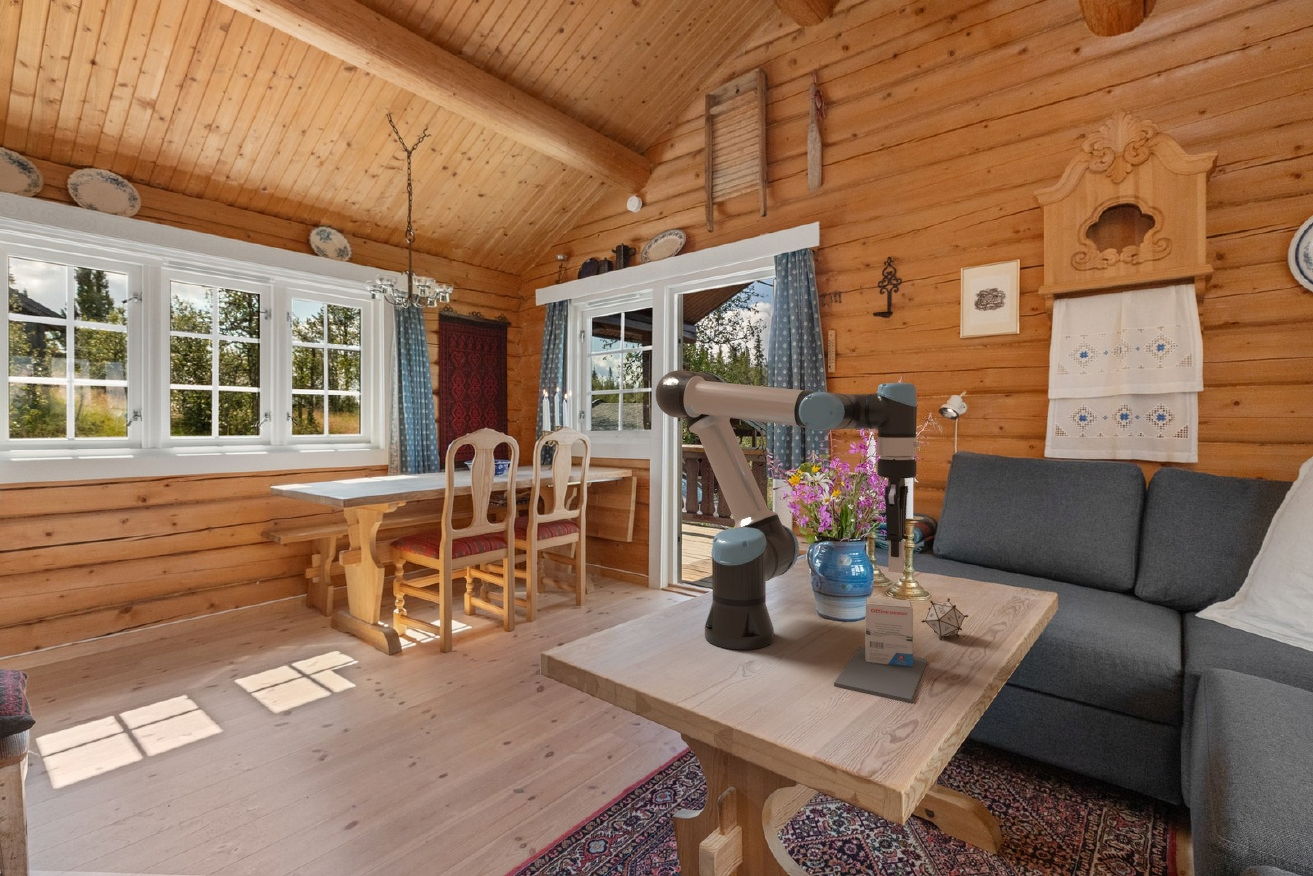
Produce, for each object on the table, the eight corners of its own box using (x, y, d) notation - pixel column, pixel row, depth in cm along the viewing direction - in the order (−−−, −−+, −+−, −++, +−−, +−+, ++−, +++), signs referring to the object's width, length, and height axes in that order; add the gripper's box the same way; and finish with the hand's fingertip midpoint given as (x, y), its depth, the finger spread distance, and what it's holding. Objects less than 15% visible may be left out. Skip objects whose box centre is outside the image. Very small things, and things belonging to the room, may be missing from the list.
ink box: (911, 658, 121) (911, 599, 120) (913, 668, 116) (913, 607, 115) (865, 653, 123) (865, 596, 123) (865, 663, 119) (865, 603, 118)
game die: (953, 656, 133) (976, 628, 127) (915, 639, 134) (936, 612, 128) (952, 624, 140) (974, 597, 134) (915, 609, 141) (935, 582, 135)
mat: (834, 686, 110) (834, 682, 110) (859, 649, 127) (859, 646, 127) (911, 702, 103) (911, 699, 103) (926, 662, 120) (926, 659, 120)
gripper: (911, 460, 118) (910, 581, 119) (921, 456, 130) (920, 566, 131) (870, 459, 122) (870, 576, 123) (884, 455, 134) (883, 562, 134)
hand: (896, 571), depth 127 cm, fingers closed
